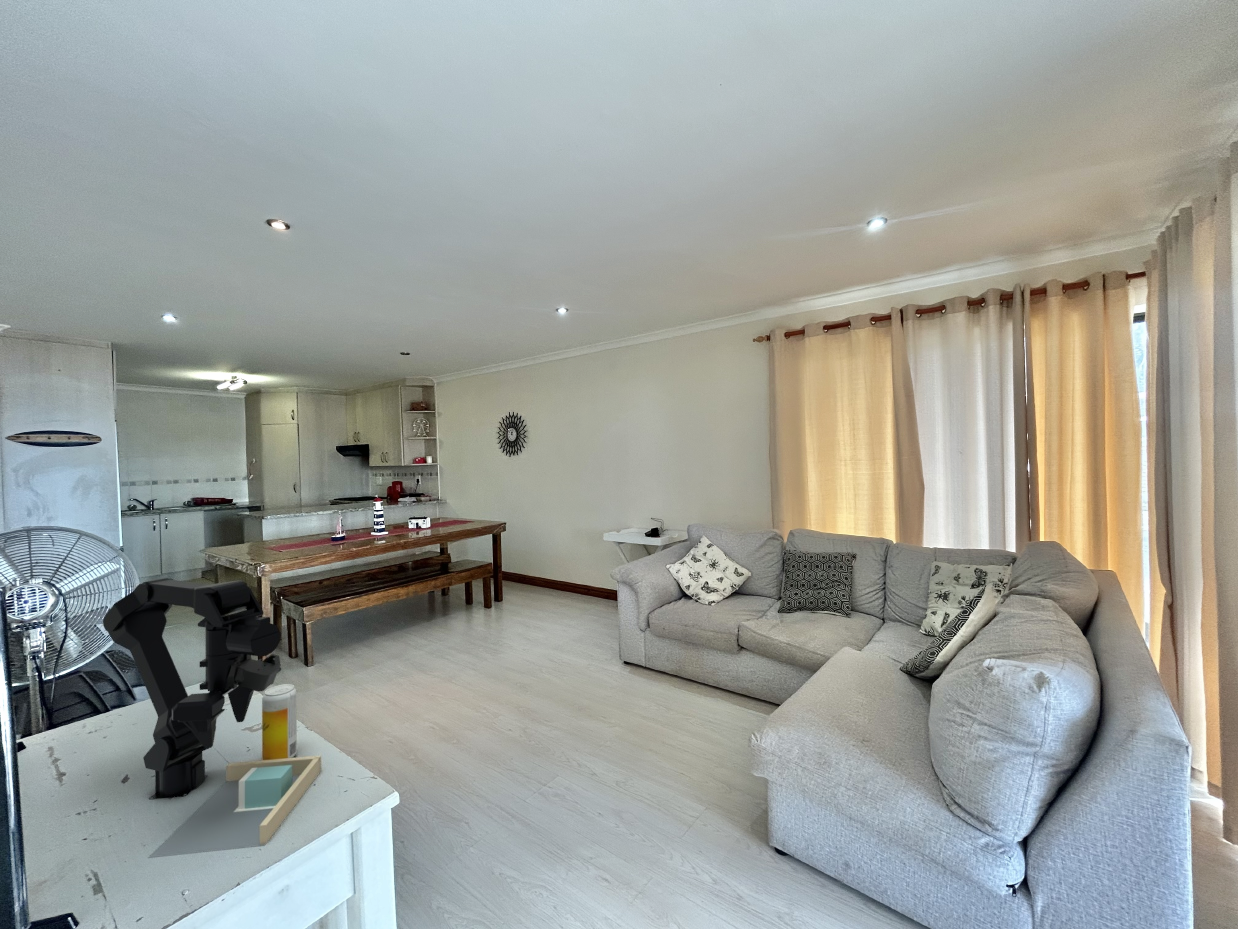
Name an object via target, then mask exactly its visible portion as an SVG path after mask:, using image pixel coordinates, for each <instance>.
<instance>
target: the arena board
mask: <svg viewBox="0 0 1238 929" xmlns="http://www.w3.org/2000/svg"><path fill="white" fill-rule="evenodd" d="M285 765H292V786H291V787H290V789H289V790H288V791H287V792H286V794H285V795H284V796H283V797H282V799H281V800H280V801H279V802H278V804H277V805H276V806H269V807H258V808H247V809H239V781H240V780H241V779H242V777H243V776H244V775H245V774H246V773H247V772H248V771H249V770H250V769H251V768H260V767H273V766H285ZM225 771H226V773H225V774H226V776H225V778H226V779H225V780H226V781H225V782H224V783H222V785H221V786H220V787H219V788H218V789H217V790H216V791H215V792H214V793H213V794H211V796H209V797H208V799H206V801H205V802H203V804H202V805H200V806H199V807H198V808H197V809H196V810H195V811H194V812H193V813H192V814H191V815H190V816H189V817H188V818H187V819H186V820H185V821H184V822H183V823H182V824H181V825H180V826H178V828H176V830H175V831H174V832H172V833H171V835H169V837H167V838H166V839H165V840H164V841H163V842H162V843H161V844H160V845H159V846H158V847H157V848H156V849H155V850H154V851H153V852H152V853H151V854H149V856H148V857H147V859H153V858H162V857H163V858H164V857H170V856H171V857H172V856H178V855H179V856H180V855H190V854H199V853H200V854H201V853H209V852H211V853H212V852H218V851H227V850H238V849H247V848H249V849H250V848H255V847H256V848H257V847H265V846H266V844H267V843H268V842H269V841H270V839H271V838H272V837H273V836H274V834H275V833H276V832H277V830H278V829H279V827H280V826H281V825H282V824H283V822H284V821H285V819H286V818H287V817H288V816H289V814H290V813H291V811H292V810H293V809H294V807H295V806H296V805H297V804H298V803H299V801H300V800H301V798H302V797H303V795H304V794H305V793H306V792H307V790H308V789H309V787H311V785H312V784H313V782H314V781H315V780H316V778H317V777H318V775H319V774H320V773H321V772H322V755H312V756H299V757H298V756H297V757H293V758H285V759H273V760H262V759H261V760H252V761H250V760H249V761H240V762H239V761H238V762H230V763H228V764H227V765H226V770H225Z"/></svg>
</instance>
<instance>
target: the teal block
mask: <svg viewBox="0 0 1238 929" xmlns="http://www.w3.org/2000/svg"><path fill="white" fill-rule="evenodd" d="M291 786H292V765H285V766H273V767H260V768H251V769H250V770H249V771H248V772H247V773H246V774H245V775H244V776H243V777H242V779H241V780H240V781H239V809H247V808H258V807H269V806H276V805H277V804H278V802H279V801H280V800H281V799H282V797H283V796H284V795H285V794H286V792H287V791H288V790H289V789H290V787H291Z"/></svg>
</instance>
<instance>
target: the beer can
mask: <svg viewBox="0 0 1238 929" xmlns="http://www.w3.org/2000/svg"><path fill="white" fill-rule="evenodd" d="M297 693H298V692H297V689H296V688H295V685H294V684H291V683H284V684H279V685H275V686H274V685H273V686H272V687H269V688H266V689H265V690H264V694H263V695H262V698H261V703H262V704H261V708H262V709H261V710H262V712H261V720H262V721H261V722H262V723H261V728H262V729H261V737H262V738H261V740H262V741H261V746H262V748H261V753H262V755H261V760H273V759H285V758H295V757H294V756H296V755H297V753H298V752H297V751H298V750H297V745H298V743H297V742H298V740H297V736H298V735H297V732H298V731H297V730H298V729H297V727H298V726H297V723H298V721H297V720H298V718H297V717H298V716H297V714H298V712H297V711H298V710H297V709H298V708H297V707H298V706H297V702H298V701H297V700H298V699H297V698H298V697H297Z"/></svg>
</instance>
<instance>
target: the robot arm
mask: <svg viewBox="0 0 1238 929" xmlns="http://www.w3.org/2000/svg"><path fill="white" fill-rule="evenodd" d="M173 606H181V607H187V608H191V609H193V612H194V614H195V615H198V616H200V617H203V619H201V620H200V621H199V622H198V623H197V627H200V628H205V634H204V635H205V638H204V639H205V641H204V642H205V652H204V653H205V658H204V659H202V660H200V661H199V668H205V680H204V681H203V682H201V683H200V684H199V691H202V690H203V691H204V690H205V691H206V690H207V692H200V693H190V694H189V695H188V692H187V689H186V688H185V685H184V683H183V681H182V679H181V676H180V674H179V672H178V668H176V665H175V663H174V660H173V658H172V656H171V654H170V650H169V648H168V646H167V643H166V642H165V640H164V638H163V634H164V632H165V628H166V625H167V623H168V619H167V616H166V614H167V613H168V612H169V611H170V609H171V608H172V607H173ZM261 607H262V605H261V604H260V602H259V601H258V600H257V597H256V596H255V595H254V593H253V590H252V589H251V587H250V586H248V583H247V582H245V581H244V580H232V581H224V582H218V583H211V584H209V583H201V582H194V581H193V582H192V581H191V582H190V581H186V580H175V579H174V578H171V577H170V578H169V577H163V578H157V579H152V580H147V581H143V582H141V583H139V584H138V585H137V586H136V587H135V588H134V589H133V591H131V592H130V593H128V594H127V595H125V596H124V597H122V598H120V599H119V600H117V601H116V602H115V603H113V605H112V606H111V607H110V608H109V610H108V611H107V613H106V614H105V615H104V617H103V618H102V626H103V628H104V630H105V631H106V632H107V633H108V635H109V637H110V638H111V640H112V642H113V643H115V644H116V645H118V646H120V647H122V648H125V649H127V650H129V652H130V654H131V656H132V659H133V660H134V663H135V666H136V667H137V670H138V672H139V674H140V677H141V679H142V682H143V685H144V686H145V689H146V691H147V694H148V696H149V699H150V701H151V703H152V706H153V708H154V710H155V712H156V715H157V719H156V723H155V726H154V730H153V733H152V737H153V740H154V744H153V745H152V746H151V747H150V748H149V750H148V751H147V752H146V754H145V755H144V756H143V763H144V767H145V769H147V770H152V771H154V775H155V776H154V777H155V778H154V784H155V785H154V786H155V787H154V788H155V789H154V791H155V792H154V793H153V794H152V795H151V796H150V797H148V800H159V799H161V800H162V799H171V798H181V797H186V796H188V795H189V794H190V793H192V791H194V790H195V789H197V788H198V787H199V786H200V785H201V784H202V783H204V782H205V780H206V779H207V778H208V777H209V775H205V774H206V770H205V769H206V767H205V766H206V763H205V762H206V761H205V760H204V759H203V752H204V751H206V750H209V749H212V747H213V746H214V743H215V742H214V741H215V736H216V735H215V734H216V731H217V720H218V717H219V716H221V714H223V712H225V710H226V708H224V706H225V700H226V697H225V696H227V697H228V700H229V703H230V706H231V709H232V713H233V715H234V718H235V721H236V723H243V722H244V721H245V718H246V716H247V713H248V710H249V706H250V703H251V700H252V697H253V695H254V692H265V691H266V690H267V689H268V687H270V686H272V685H273V684H274V683H275V681H276V677H277V676H278V674H279V673H280V672H281V671H282V667H281V666H282V664H281V659H280V655H278V654H275V653H273V652H274V651H275V650H276V649H277V648H278V646H279V644H280V641H281V639H282V633H281V631H280V628H279V627H278V626H277V625H276V624H274V623H271V616H263V615H264V611H263V610H262V608H261ZM252 656H254V657H260V658H259V659H257V660H256V659H252ZM262 657H265V659H262Z"/></svg>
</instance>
